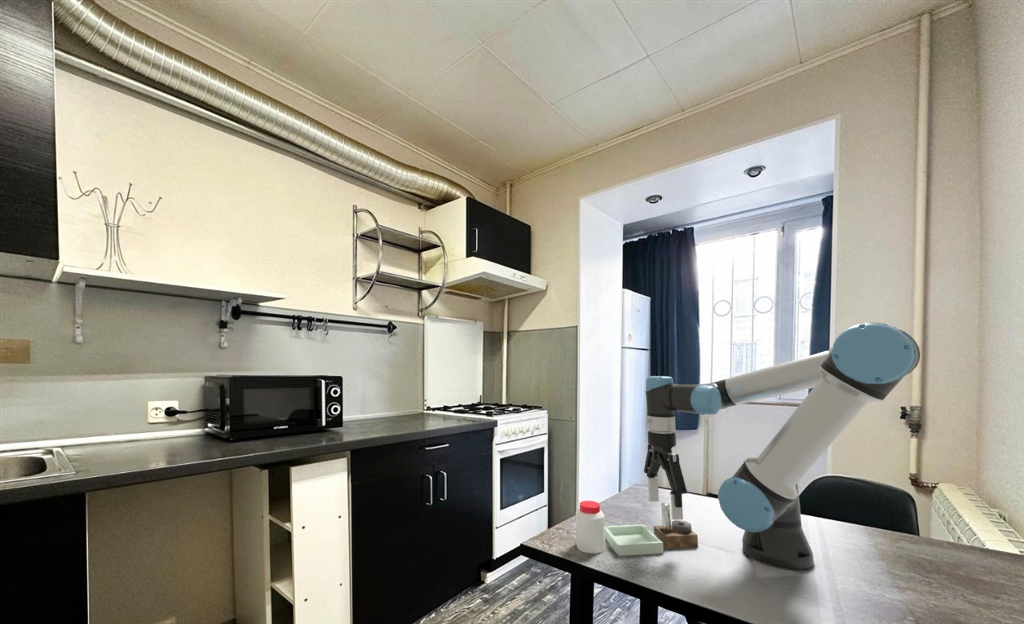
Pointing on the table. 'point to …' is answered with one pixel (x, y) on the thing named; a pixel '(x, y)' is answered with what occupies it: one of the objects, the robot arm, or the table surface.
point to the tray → (633, 540)
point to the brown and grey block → (677, 535)
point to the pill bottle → (590, 528)
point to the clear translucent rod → (666, 518)
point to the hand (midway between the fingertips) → (664, 509)
